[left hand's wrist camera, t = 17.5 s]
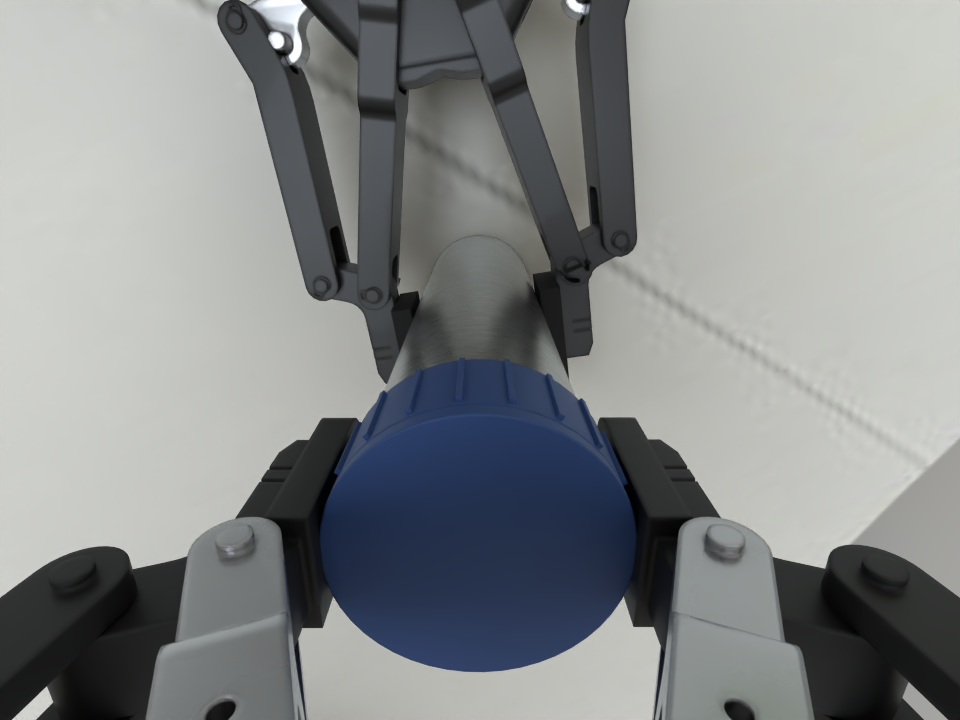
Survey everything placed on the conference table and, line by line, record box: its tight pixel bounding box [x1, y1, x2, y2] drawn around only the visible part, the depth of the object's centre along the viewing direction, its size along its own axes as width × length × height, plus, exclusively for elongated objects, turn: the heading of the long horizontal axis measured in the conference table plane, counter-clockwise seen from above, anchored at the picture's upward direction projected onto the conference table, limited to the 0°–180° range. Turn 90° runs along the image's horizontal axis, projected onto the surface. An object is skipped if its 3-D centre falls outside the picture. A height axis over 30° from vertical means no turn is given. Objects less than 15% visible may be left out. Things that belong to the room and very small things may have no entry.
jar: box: [385, 235, 575, 396], centre depth 19 cm, size 5×5×19 cm
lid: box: [319, 357, 637, 672], centre depth 10 cm, size 5×5×2 cm
